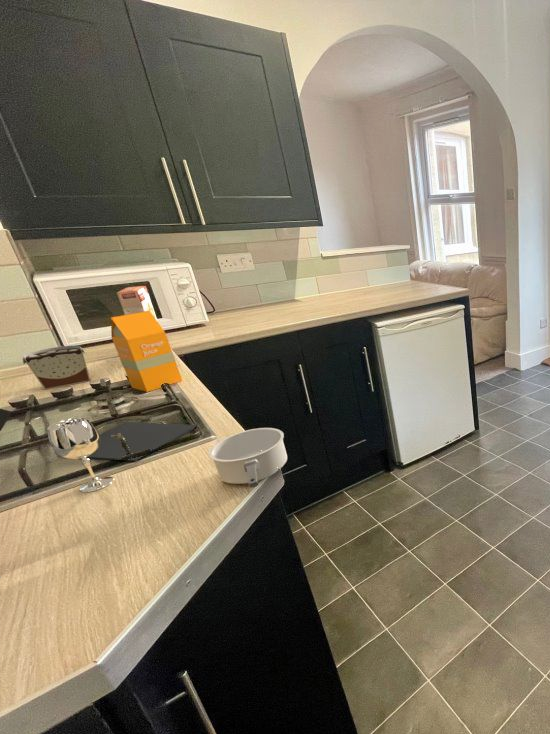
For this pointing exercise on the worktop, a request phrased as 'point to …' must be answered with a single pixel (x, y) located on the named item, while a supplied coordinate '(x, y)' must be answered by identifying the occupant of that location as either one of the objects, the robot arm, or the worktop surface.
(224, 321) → the worktop surface
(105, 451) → the mat
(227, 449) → the saucepan
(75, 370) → the food container
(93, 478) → the wineglass
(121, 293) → the cracker box
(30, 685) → the worktop surface
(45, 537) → the worktop surface
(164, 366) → the orange juice
